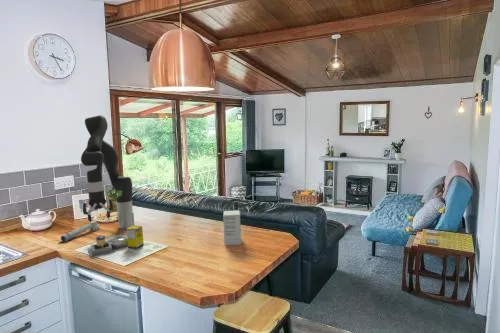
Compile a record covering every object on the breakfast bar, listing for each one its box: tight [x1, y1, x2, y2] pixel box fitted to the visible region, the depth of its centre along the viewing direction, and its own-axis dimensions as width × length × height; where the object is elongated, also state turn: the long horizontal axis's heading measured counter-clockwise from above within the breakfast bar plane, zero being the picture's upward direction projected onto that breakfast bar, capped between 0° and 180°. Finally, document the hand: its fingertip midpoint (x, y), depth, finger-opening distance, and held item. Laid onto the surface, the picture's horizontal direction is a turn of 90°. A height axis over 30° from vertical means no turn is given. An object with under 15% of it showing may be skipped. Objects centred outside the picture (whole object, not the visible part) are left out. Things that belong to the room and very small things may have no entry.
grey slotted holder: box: [87, 237, 128, 258], centre depth 180 cm, size 19×12×4 cm, turn 120°
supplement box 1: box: [126, 224, 145, 249], centre depth 183 cm, size 6×6×11 cm
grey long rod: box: [60, 220, 100, 243], centre depth 206 cm, size 5×7×25 cm
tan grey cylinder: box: [95, 235, 107, 249], centre depth 179 cm, size 4×4×7 cm
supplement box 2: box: [222, 210, 242, 246], centre depth 184 cm, size 10×9×17 cm
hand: (99, 219), depth 177 cm, fingers open, 8 cm apart
